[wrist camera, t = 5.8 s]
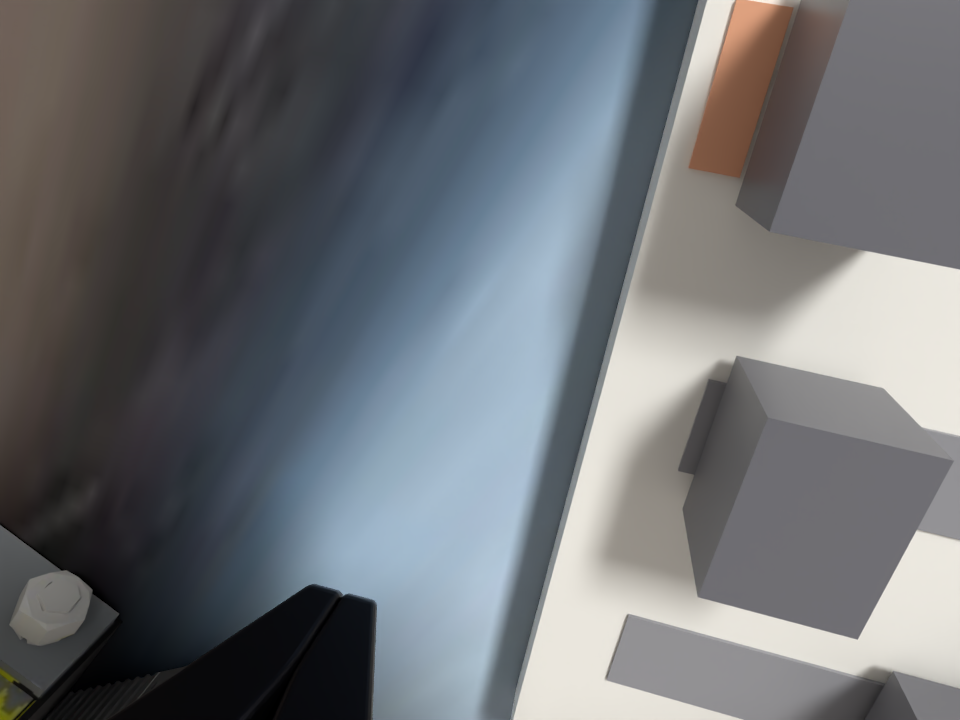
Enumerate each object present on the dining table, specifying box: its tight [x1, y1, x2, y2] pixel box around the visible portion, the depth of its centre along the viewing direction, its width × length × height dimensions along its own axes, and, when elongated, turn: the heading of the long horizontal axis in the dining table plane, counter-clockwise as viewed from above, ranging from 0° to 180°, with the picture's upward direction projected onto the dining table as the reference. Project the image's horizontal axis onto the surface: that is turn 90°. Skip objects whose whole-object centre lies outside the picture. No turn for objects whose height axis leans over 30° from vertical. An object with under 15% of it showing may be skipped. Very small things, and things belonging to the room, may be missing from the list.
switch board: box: [511, 0, 960, 720], centre depth 15 cm, size 14×24×2 cm, turn 171°
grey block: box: [682, 356, 954, 640], centre depth 13 cm, size 3×4×3 cm
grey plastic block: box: [735, 0, 960, 270], centre depth 10 cm, size 3×4×3 cm
